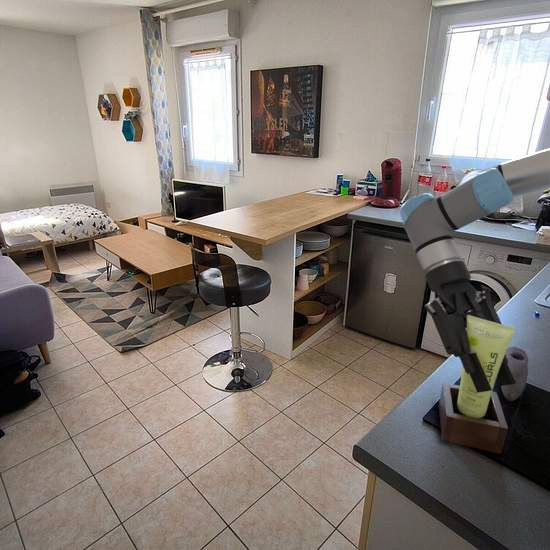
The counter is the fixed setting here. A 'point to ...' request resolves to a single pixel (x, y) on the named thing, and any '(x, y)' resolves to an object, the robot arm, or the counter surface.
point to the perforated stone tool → (516, 372)
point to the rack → (472, 422)
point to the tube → (483, 362)
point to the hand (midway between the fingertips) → (496, 387)
